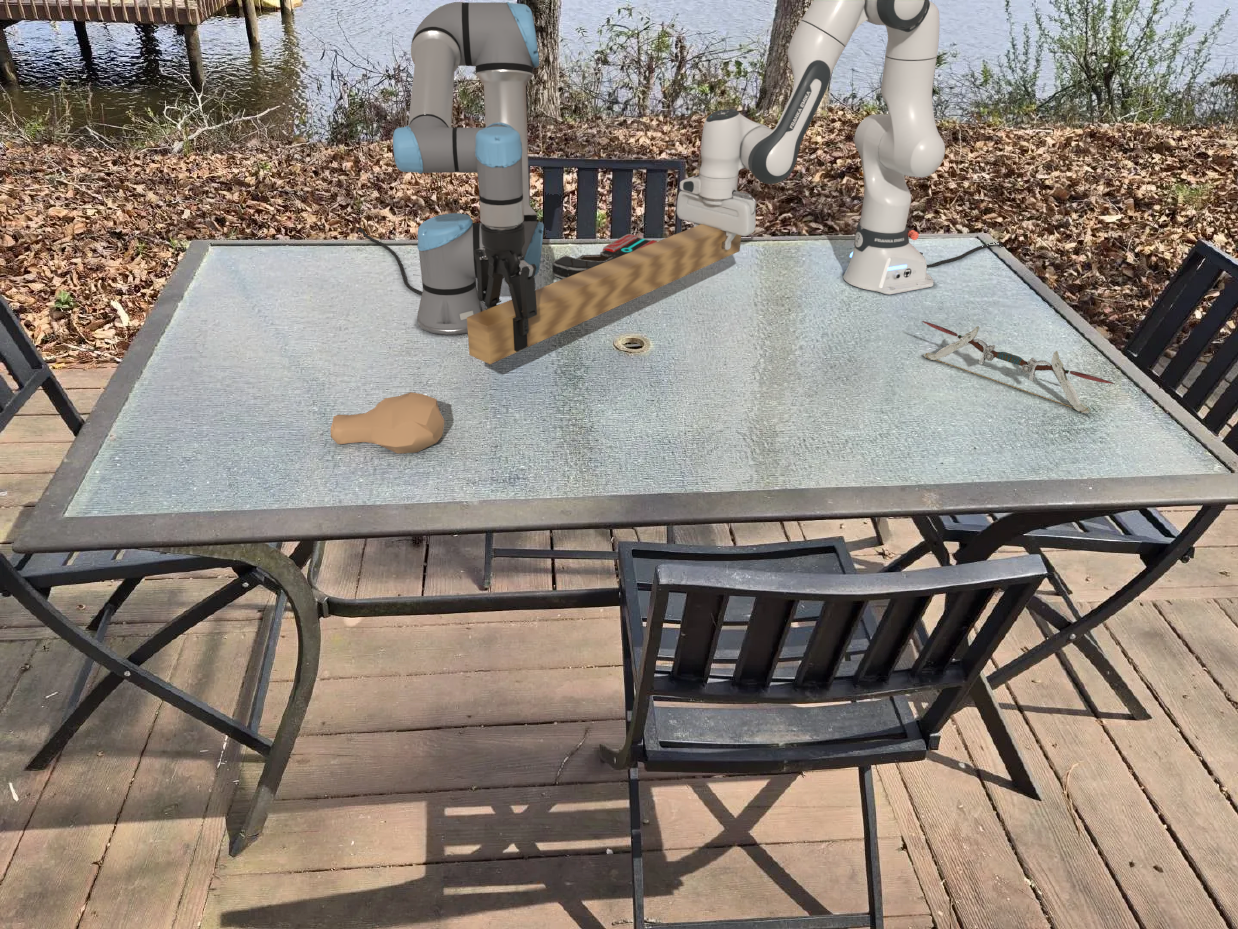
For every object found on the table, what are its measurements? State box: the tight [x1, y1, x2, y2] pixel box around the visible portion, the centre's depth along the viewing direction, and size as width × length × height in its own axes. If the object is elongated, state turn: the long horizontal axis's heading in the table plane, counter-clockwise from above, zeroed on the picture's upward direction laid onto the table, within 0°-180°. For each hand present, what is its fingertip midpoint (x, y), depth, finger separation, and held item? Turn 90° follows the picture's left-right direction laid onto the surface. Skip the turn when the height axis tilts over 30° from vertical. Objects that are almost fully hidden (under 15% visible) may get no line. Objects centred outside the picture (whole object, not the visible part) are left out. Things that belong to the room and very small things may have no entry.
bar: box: [467, 224, 742, 365], centre depth 185 cm, size 82×6×8 cm, turn 140°
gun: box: [551, 233, 659, 279], centre depth 224 cm, size 4×31×19 cm
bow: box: [921, 320, 1114, 414], centre depth 176 cm, size 39×2×10 cm, turn 47°
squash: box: [330, 392, 446, 455], centre depth 152 cm, size 11×20×9 cm, turn 90°
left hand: (509, 343), depth 165 cm, fingers closed on bar, 6 cm apart
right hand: (713, 245), depth 207 cm, fingers closed on bar, 5 cm apart
